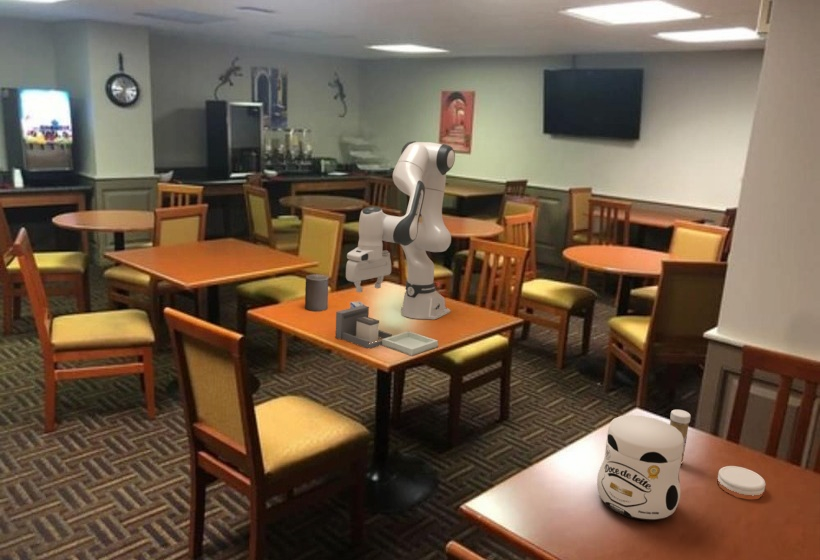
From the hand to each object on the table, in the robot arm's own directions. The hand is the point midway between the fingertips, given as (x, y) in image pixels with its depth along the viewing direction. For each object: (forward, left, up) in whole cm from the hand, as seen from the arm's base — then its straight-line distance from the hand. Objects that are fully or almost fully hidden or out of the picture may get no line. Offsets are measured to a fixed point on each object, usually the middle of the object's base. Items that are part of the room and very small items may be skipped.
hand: (368, 289), depth 241 cm
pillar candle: (-13, -43, -19) cm, 49 cm away
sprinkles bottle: (+8, +116, -19) cm, 118 cm away
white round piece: (+9, +132, -20) cm, 134 cm away
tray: (-7, +15, -19) cm, 25 cm away
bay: (0, -1, -19) cm, 19 cm away
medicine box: (-10, -15, -19) cm, 26 cm away
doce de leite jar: (+34, +117, -19) cm, 124 cm away
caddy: (0, 0, -19) cm, 19 cm away
